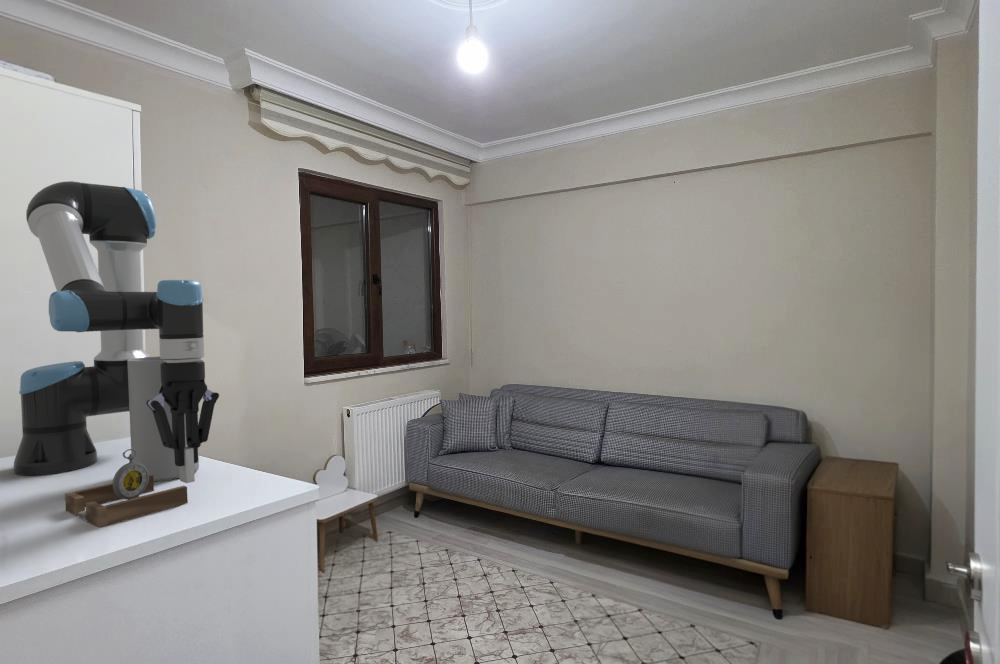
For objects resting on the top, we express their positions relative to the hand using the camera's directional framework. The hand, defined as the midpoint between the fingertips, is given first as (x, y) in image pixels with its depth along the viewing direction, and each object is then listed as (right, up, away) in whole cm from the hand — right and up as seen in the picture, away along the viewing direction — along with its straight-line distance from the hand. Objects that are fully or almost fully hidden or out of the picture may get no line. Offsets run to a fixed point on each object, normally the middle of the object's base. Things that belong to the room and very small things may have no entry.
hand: (187, 481), depth 114 cm
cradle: (-6, -2, -8) cm, 11 cm away
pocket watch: (-4, -3, -7) cm, 9 cm away
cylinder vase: (-11, -2, +12) cm, 17 cm away
